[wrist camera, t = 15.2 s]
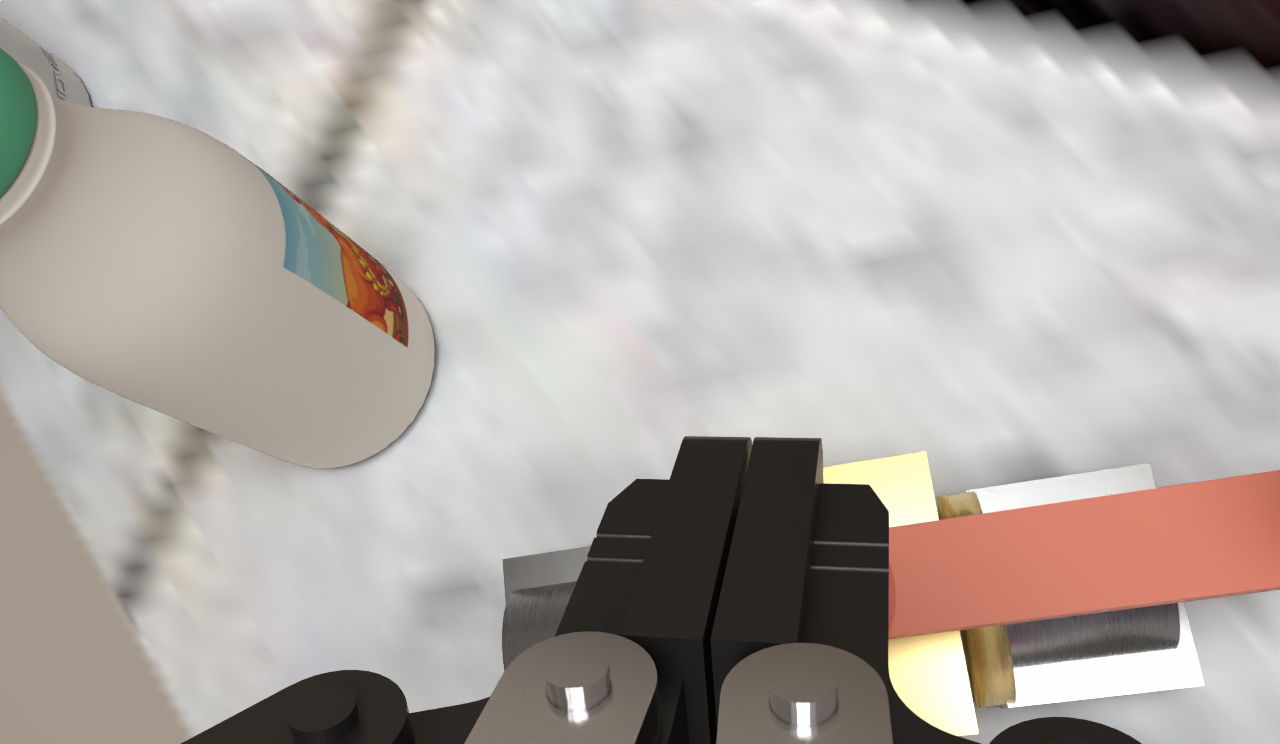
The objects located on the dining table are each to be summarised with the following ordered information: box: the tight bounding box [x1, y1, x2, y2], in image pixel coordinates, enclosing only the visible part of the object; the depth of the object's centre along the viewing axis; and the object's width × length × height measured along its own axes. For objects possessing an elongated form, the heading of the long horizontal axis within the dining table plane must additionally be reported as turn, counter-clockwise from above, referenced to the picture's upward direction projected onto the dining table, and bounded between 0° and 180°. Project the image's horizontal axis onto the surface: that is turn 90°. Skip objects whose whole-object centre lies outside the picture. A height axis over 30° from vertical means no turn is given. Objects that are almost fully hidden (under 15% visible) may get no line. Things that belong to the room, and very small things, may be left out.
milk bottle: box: [0, 48, 435, 469], centre depth 34 cm, size 8×8×20 cm
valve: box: [502, 451, 1205, 736], centre depth 32 cm, size 19×7×9 cm, turn 96°
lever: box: [888, 470, 1280, 642], centre depth 22 cm, size 4×16×10 cm, turn 96°
